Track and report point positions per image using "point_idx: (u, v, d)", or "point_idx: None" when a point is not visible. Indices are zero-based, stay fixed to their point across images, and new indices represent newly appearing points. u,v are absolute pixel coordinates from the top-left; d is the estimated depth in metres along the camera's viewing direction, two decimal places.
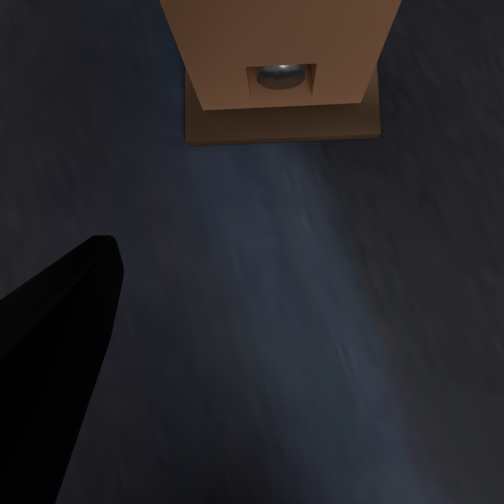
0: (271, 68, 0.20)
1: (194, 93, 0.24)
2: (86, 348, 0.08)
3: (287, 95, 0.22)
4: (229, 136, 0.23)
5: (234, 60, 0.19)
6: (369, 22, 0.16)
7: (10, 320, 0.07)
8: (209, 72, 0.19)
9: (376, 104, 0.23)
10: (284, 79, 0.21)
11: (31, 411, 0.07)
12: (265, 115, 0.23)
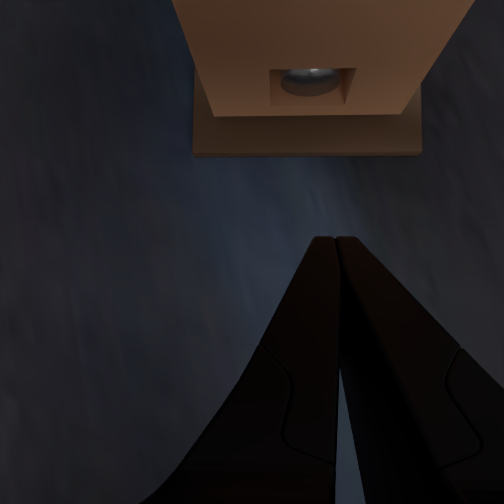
0: (299, 72, 0.16)
1: (204, 95, 0.20)
2: None
3: (314, 103, 0.19)
4: (244, 148, 0.20)
5: (256, 61, 0.15)
6: (431, 20, 0.13)
7: (312, 325, 0.06)
8: (224, 74, 0.16)
9: (418, 116, 0.20)
10: (314, 84, 0.17)
11: None
12: (286, 125, 0.20)
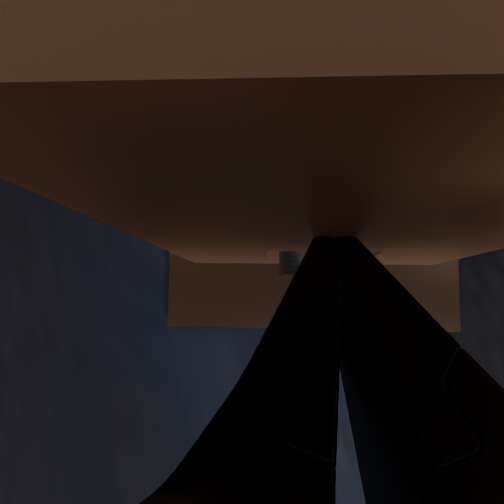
0: None
1: None
2: None
3: None
4: (232, 322, 0.16)
5: (244, 248, 0.11)
6: (501, 237, 0.09)
7: (312, 325, 0.06)
8: (202, 251, 0.12)
9: (454, 285, 0.15)
10: None
11: None
12: None
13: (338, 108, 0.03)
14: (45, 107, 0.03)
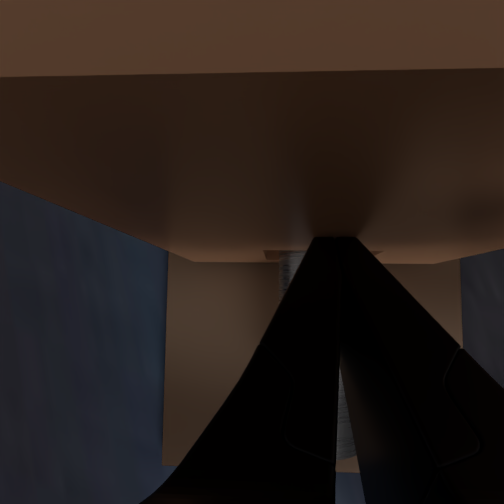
0: None
1: (178, 385, 0.16)
2: None
3: None
4: None
5: (244, 247, 0.11)
6: None
7: (312, 325, 0.06)
8: (201, 250, 0.12)
9: None
10: None
11: None
12: None
13: (339, 105, 0.03)
14: (33, 105, 0.03)
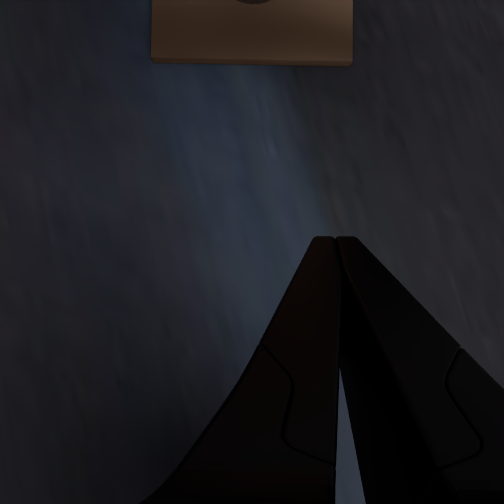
0: None
1: (161, 5, 0.23)
2: None
3: None
4: (197, 54, 0.22)
5: None
6: None
7: (312, 325, 0.06)
8: None
9: (349, 30, 0.23)
10: None
11: None
12: (235, 34, 0.22)
13: None
14: None
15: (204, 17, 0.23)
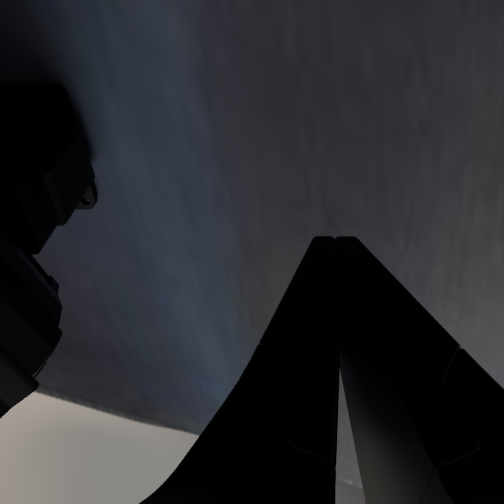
0: None
1: None
2: None
3: None
4: None
5: None
6: None
7: (312, 325, 0.06)
8: None
9: None
10: None
11: None
12: None
13: None
14: None
15: None
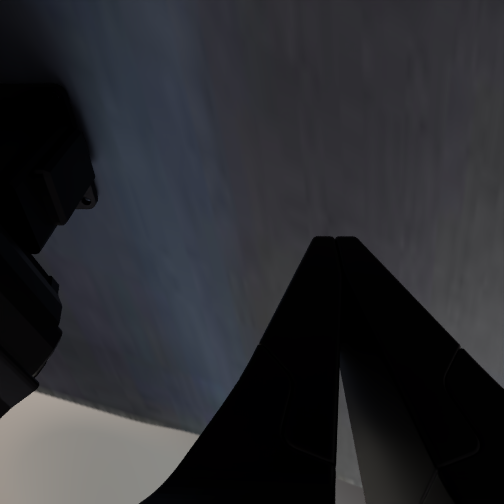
0: None
1: None
2: None
3: None
4: None
5: None
6: None
7: (312, 325, 0.06)
8: None
9: None
10: None
11: None
12: None
13: None
14: None
15: None
